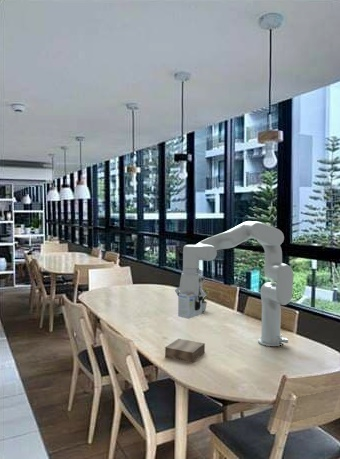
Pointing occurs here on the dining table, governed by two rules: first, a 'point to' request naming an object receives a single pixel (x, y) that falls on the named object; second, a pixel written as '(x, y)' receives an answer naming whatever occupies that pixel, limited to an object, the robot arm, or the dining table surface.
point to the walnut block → (185, 350)
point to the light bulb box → (188, 306)
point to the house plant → (204, 301)
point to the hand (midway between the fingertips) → (190, 308)
